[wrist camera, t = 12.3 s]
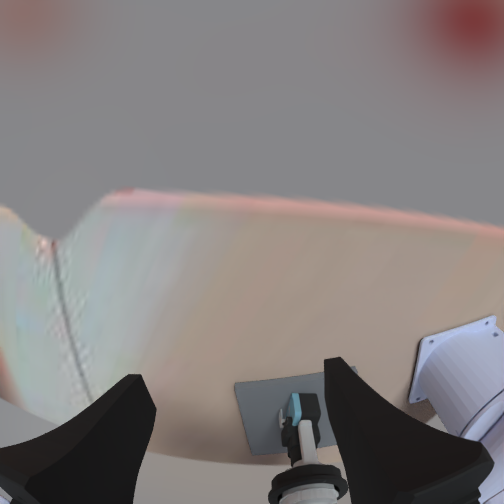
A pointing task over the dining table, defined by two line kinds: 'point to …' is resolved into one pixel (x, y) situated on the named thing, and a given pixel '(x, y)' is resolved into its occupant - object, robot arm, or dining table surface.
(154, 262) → the dining table surface
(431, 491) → the robot arm
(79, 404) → the dining table surface
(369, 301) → the dining table surface
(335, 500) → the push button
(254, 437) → the rubber pad
